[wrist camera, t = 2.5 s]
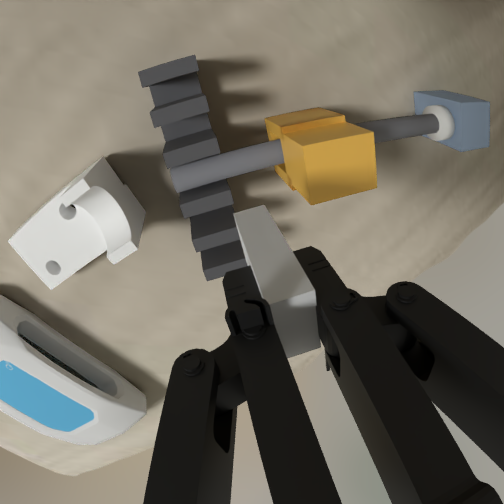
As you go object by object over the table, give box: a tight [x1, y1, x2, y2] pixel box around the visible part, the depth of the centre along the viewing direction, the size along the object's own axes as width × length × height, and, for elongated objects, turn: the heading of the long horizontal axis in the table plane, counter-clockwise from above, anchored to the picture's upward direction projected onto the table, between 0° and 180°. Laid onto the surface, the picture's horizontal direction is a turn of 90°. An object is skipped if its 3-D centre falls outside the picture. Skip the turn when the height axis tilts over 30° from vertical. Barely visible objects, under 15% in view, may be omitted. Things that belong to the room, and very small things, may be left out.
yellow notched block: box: [264, 107, 377, 205], centre depth 23 cm, size 5×5×9 cm
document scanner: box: [0, 294, 146, 445], centre depth 36 cm, size 21×28×6 cm
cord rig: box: [138, 55, 490, 281], centre depth 26 cm, size 32×18×8 cm, turn 102°
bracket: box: [8, 156, 146, 290], centre depth 26 cm, size 13×7×8 cm, turn 117°
